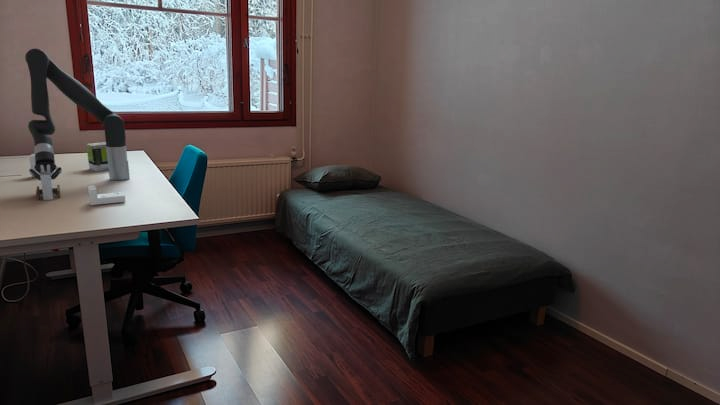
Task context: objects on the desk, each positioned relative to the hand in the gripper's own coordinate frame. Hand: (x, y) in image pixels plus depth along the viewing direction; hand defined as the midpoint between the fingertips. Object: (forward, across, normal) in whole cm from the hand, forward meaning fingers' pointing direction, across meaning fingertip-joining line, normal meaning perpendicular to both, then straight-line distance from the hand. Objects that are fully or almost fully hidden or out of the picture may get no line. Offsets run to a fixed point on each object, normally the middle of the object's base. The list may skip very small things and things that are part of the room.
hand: (47, 186), depth 217 cm
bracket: (+21, +22, -15) cm, 34 cm away
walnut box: (+5, 0, +1) cm, 5 cm away
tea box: (-37, +27, +43) cm, 63 cm away
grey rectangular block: (+7, 0, -1) cm, 7 cm away
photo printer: (-30, -3, +36) cm, 47 cm away
